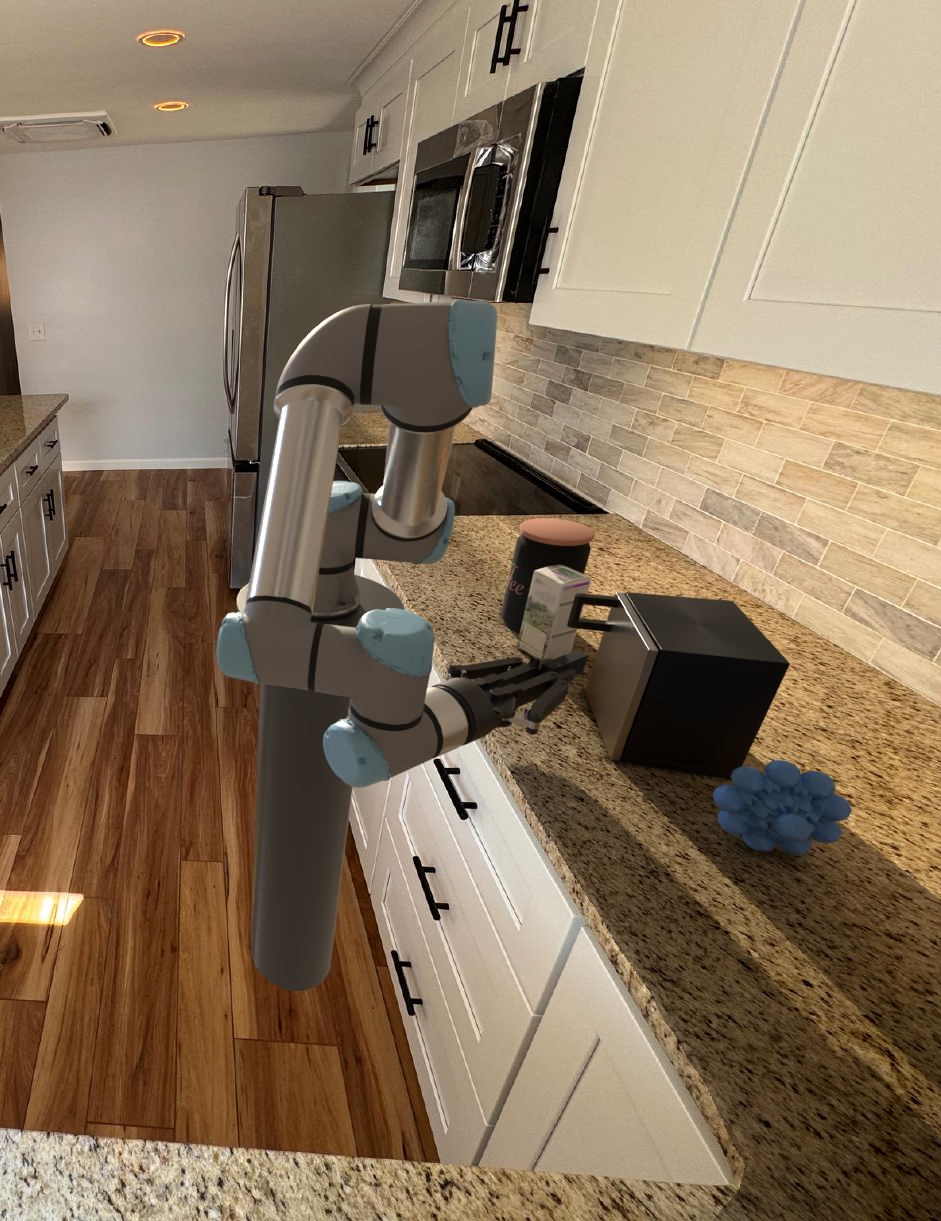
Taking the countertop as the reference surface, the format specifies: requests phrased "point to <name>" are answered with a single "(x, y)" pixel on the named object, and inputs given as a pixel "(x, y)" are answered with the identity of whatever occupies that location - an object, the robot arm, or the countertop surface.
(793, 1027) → the countertop surface
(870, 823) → the countertop surface
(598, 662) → the door
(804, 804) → the blue flower
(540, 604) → the syrup box
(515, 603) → the coffee jar
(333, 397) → the robot arm
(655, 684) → the black box
